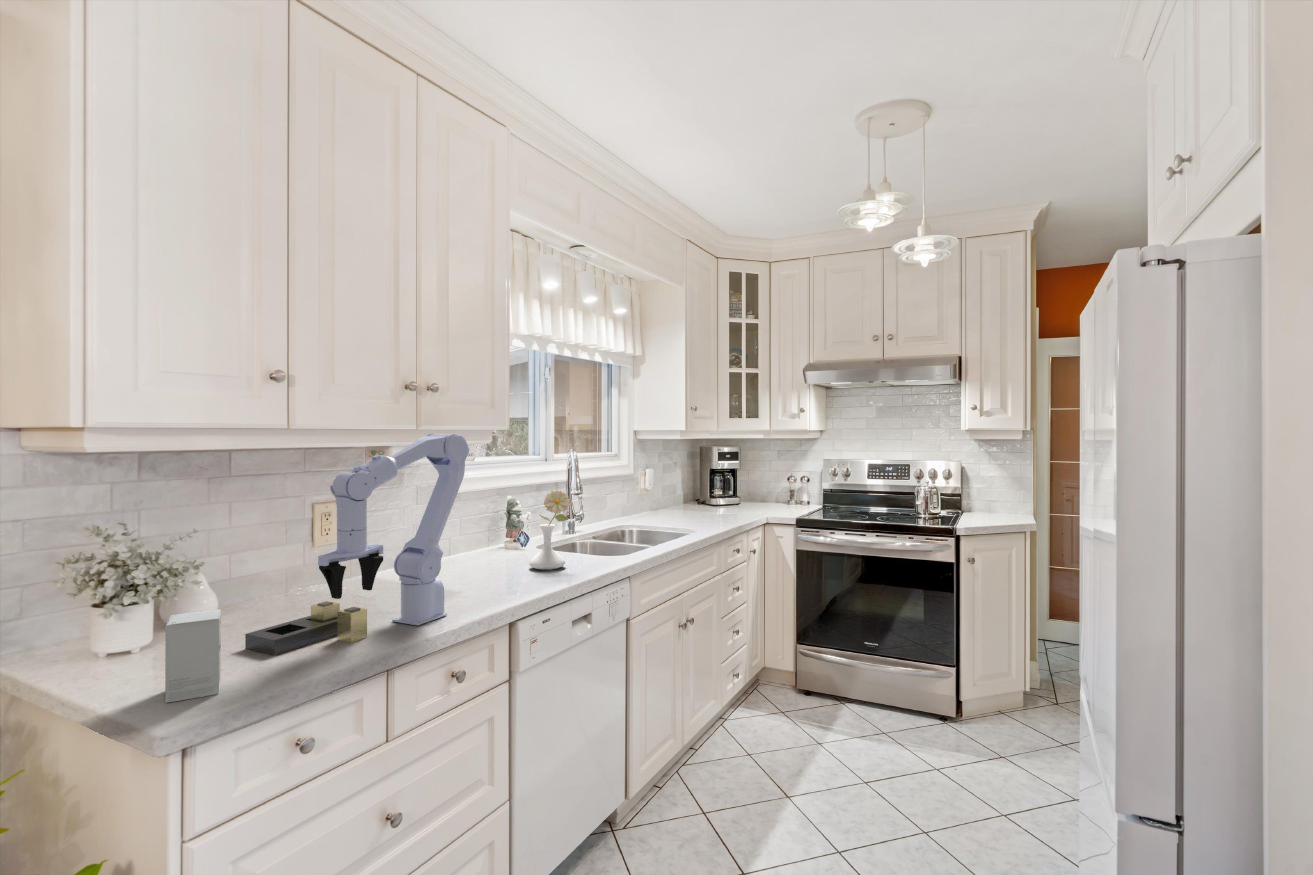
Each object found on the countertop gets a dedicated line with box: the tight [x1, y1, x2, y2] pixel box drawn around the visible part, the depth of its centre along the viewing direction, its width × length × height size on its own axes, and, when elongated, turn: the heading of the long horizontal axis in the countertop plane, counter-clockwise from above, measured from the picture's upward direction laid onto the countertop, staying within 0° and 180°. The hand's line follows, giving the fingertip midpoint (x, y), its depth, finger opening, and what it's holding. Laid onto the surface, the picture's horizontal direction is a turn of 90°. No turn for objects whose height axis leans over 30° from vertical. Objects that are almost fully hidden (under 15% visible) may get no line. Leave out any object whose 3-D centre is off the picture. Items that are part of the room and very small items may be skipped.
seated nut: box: [310, 600, 341, 623], centre depth 141 cm, size 4×4×6 cm
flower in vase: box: [528, 489, 571, 571], centre depth 206 cm, size 13×11×25 cm
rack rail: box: [244, 615, 338, 656], centre depth 137 cm, size 20×9×3 cm, turn 154°
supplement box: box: [164, 608, 222, 703], centre depth 109 cm, size 7×7×13 cm
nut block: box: [337, 606, 368, 643], centre depth 137 cm, size 4×4×6 cm
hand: (352, 593), depth 137 cm, fingers open, 7 cm apart
